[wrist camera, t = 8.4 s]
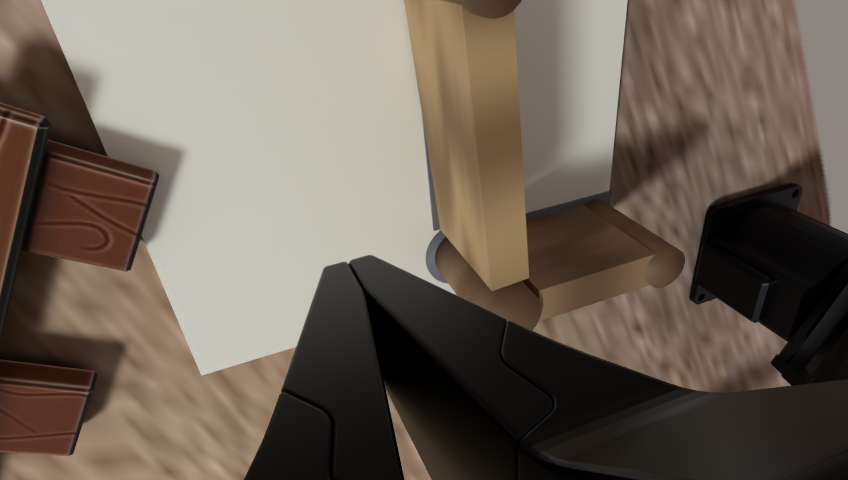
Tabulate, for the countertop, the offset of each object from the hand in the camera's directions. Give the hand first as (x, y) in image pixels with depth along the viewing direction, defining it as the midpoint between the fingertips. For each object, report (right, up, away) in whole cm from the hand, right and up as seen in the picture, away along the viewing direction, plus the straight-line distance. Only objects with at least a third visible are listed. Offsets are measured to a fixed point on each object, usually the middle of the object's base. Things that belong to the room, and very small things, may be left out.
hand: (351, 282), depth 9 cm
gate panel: (+2, +6, +11) cm, 13 cm away
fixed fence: (+6, +1, +16) cm, 17 cm away
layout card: (0, +5, +12) cm, 13 cm away
